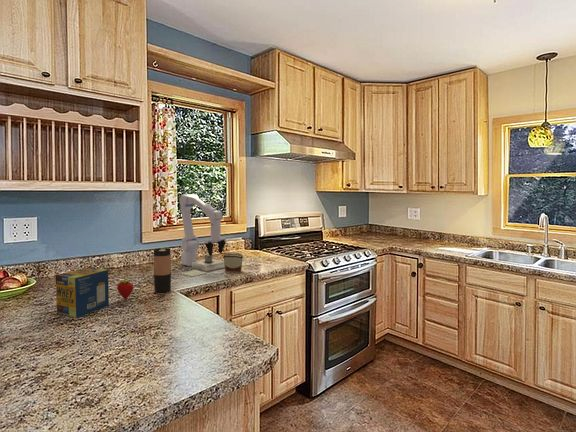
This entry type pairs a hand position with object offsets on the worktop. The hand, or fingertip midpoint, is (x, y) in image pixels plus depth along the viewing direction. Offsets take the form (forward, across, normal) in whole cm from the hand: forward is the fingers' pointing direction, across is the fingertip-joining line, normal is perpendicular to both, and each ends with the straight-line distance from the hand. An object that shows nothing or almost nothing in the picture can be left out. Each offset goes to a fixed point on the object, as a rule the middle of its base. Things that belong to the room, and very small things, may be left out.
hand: (215, 254), depth 208 cm
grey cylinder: (+10, +1, +8) cm, 12 cm away
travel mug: (+10, -44, -14) cm, 47 cm away
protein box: (+10, -78, -12) cm, 79 cm away
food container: (+10, +6, -10) cm, 15 cm away
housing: (+10, +1, +8) cm, 12 cm away
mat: (+10, -14, +3) cm, 17 cm away
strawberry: (+10, -61, -12) cm, 63 cm away
